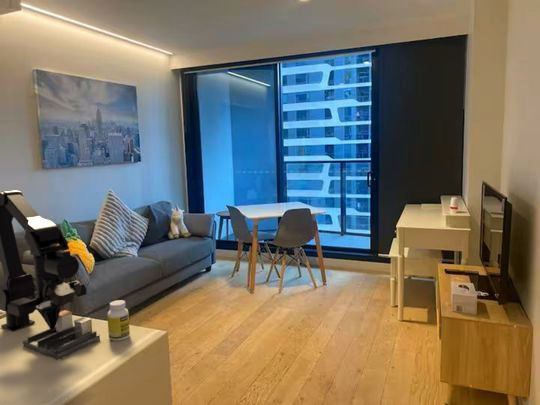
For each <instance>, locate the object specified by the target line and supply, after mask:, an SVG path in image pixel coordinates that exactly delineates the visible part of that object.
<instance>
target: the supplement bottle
mask: <svg viewBox="0 0 540 405" xmlns="http://www.w3.org/2000/svg"><path fill="white" fill-rule="evenodd" d="M126 306H127V305H126V301H125V300H123V299H119V300H114V301H111V302H109V311H108V312H107V330H108V331H107V334H108V339H109V340H110V341H116V342H117V341H123V340H126V339H127V338H129V337H130V335H131V333H130V332H131V331H130V314H129V310H128V308H126Z"/></svg>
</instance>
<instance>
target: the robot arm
mask: <svg viewBox="0 0 540 405" xmlns="http://www.w3.org/2000/svg"><path fill="white" fill-rule="evenodd" d="M14 219H15V221H17V223H18V224H19V225H20V227H22V229H23V230H24V231H25V232H24V237H23V238H24V239H25V241H26V243H27V246H28V247H29V248H30V249H31V251H30V252H29V254H30V256H33V264H34V265H33V266H34V275H32V274H31V273H27V272H26V271H25V270H24V267H23V264H22V259H21V255H20V251H19V246H18V242H17V238H16V235H15V230H14V225H13V220H14ZM68 244H69V242H68V241H67V239H66V238H65V236H64V234H63V232H62V230H61V229H60V228H59V226H58V225H57V224H55V223H54V222H53V221H51V220H50V219H46V218H43V217H41V215H39V213H38V212H37V211H36V210H35V209H34V208H33V207H32V205H31V204H29V202H28V201H27V200H26V199H25V198H24V195H23V192H22V191H20V190H17V189H16V190H6V191H1V192H0V263H1V266H2V271H3V277H2V278H1V281H0V310H1V311H2V312H5V320H6V323H5V324H2V325H1V328H3V329H6V330H8V331H12V332H15V331H18V330H20V329H23V328H26V327H29V326H31V325H34V324H36V321H35V320H33V319H30V314H33V313H34V312H36V311H38V313H39V314H40V315H41V317H42V319H43V320H44V322H45V323H46V325H47V326H48V329H54V328H55V326H56V323H57V319H58V316H59V313H60V312H62V308H63V307H64V306H65V305H67V304H69V303H73V302H74V300H75V296H76V298H79V297H82V296H85V295H87V294H88V288H87V286H86V285H85V284H84V283H80V281H78V280H74V281H70V282H65V279H71V278H73V277H75V275H76V274H77V273H78V271H79V269H80V262H79V261H78V259H77V258H76V257H75V256H73V255H71V251H70V247H69V245H68Z"/></svg>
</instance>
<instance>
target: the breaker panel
mask: <svg viewBox="0 0 540 405" xmlns="http://www.w3.org/2000/svg"><path fill="white" fill-rule="evenodd" d="M99 341H101V338H100V334H97V331H96V330H94V331H93V324H92V318H90V317H86V316H83V317H80V318H77V319H75V320H74V321H73V326H72V327H70V328H67V329H65V330H63V331H60V332H58V331H56V326H55V328H54V329H50V328H47V329H45V330H43V331H40V332H37V333H35V334H32V335H30V336H28V337H27V339H25V340H22V348H26V349H27V350H30V351H32V352H36V353H38V354H41V355H43V356H45V357H49V358H51V359H52V360H53V359H54V360H55V361H60V360H62V359H64V358H66V357H68V356H70V355H72V354H74V353H76V352H79V351H81V350H84V349H86V348H88V347H89V346H91V345H93V344H96V343H98V342H99Z"/></svg>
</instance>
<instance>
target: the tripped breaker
mask: <svg viewBox="0 0 540 405" xmlns="http://www.w3.org/2000/svg"><path fill="white" fill-rule="evenodd" d="M72 326H74V321H73V312H72V311H69V310H61V311H60V313H59V316H58V319H57V323H56V331H58V332H60V331H63V330H65V329H67V328H70V327H72Z"/></svg>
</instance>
